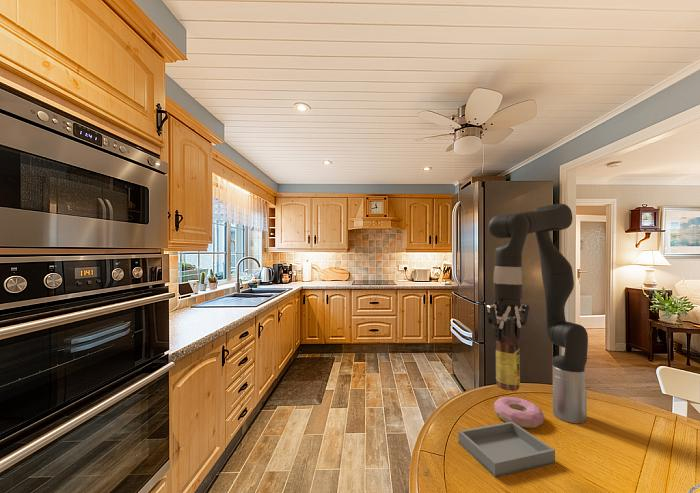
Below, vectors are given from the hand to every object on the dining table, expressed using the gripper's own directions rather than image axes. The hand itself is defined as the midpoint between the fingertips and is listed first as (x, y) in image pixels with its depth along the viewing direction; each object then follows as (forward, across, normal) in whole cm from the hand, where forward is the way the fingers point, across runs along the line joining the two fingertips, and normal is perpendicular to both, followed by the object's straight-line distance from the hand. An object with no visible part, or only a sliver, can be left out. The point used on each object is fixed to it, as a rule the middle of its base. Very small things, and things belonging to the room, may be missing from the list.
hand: (507, 340), depth 90 cm
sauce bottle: (+14, 0, 0) cm, 14 cm away
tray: (+32, 0, 0) cm, 32 cm away
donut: (+32, -19, -14) cm, 40 cm away
